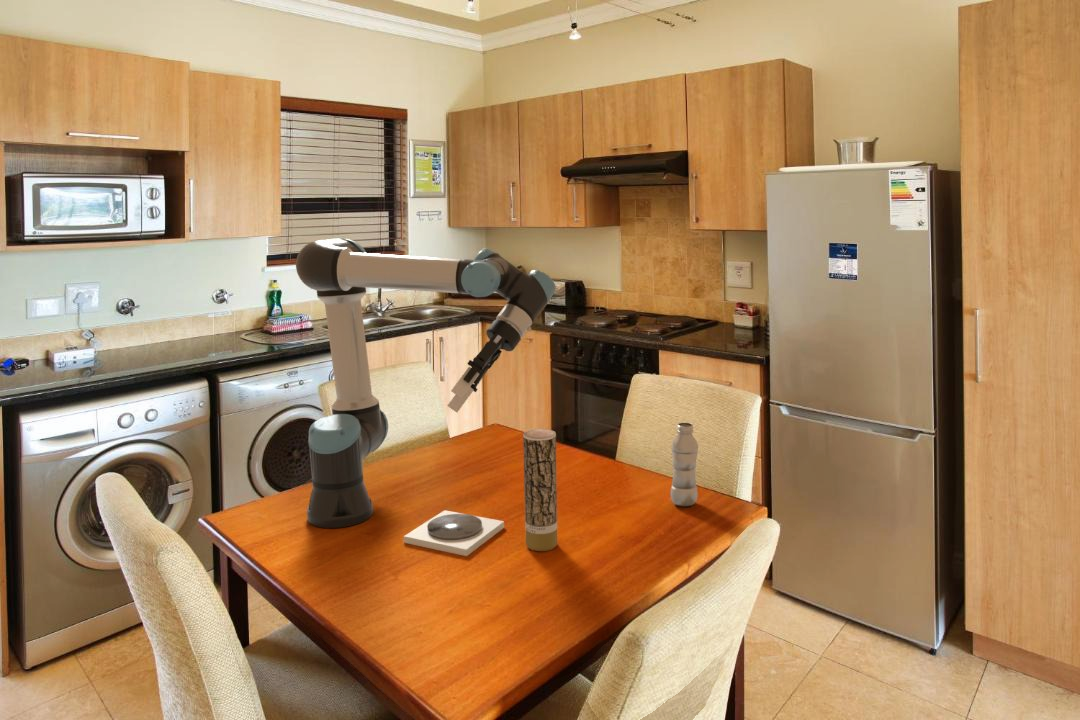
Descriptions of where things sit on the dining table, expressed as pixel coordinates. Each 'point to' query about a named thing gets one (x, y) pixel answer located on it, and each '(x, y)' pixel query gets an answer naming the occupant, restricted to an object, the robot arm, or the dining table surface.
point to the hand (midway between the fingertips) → (454, 402)
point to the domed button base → (454, 532)
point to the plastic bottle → (684, 466)
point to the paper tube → (540, 489)
